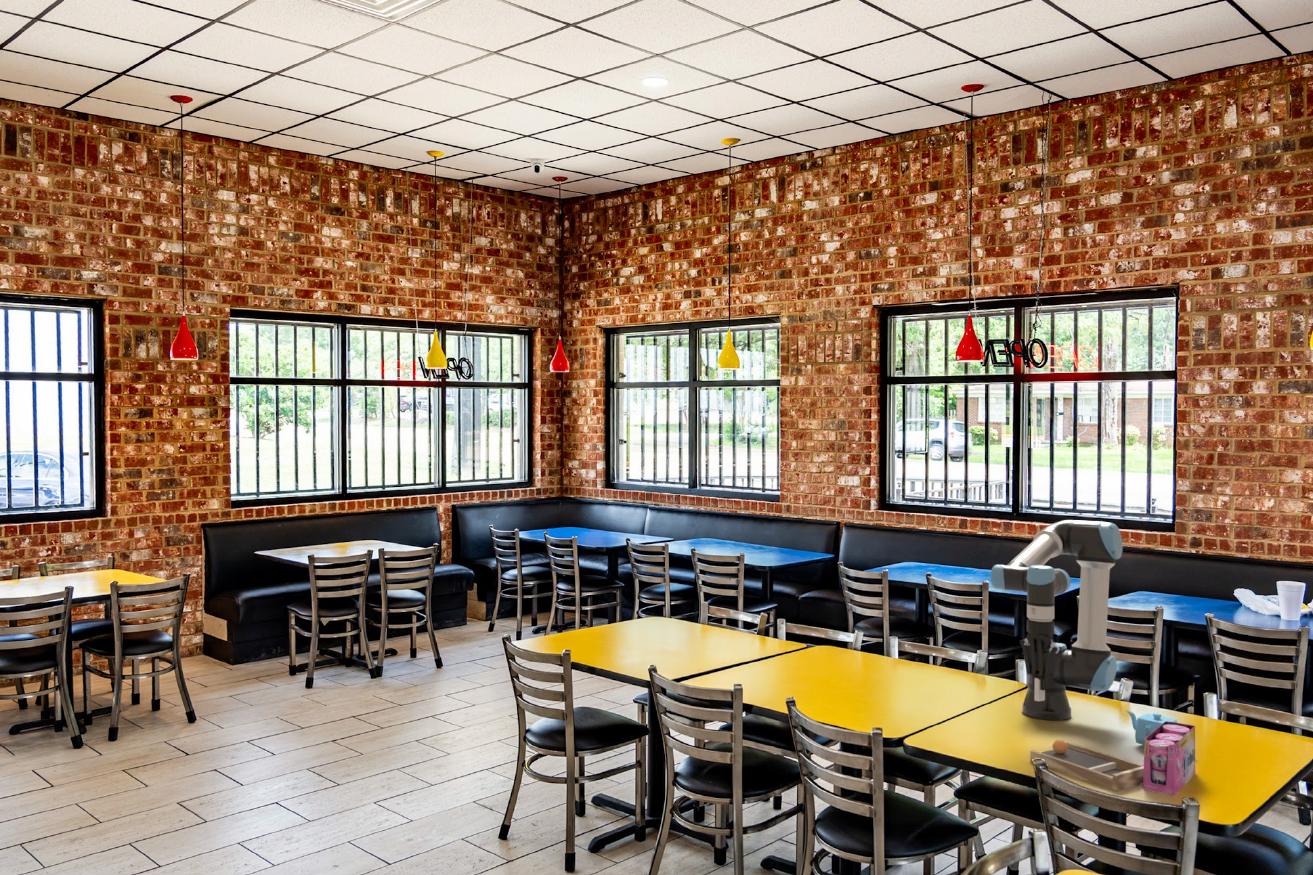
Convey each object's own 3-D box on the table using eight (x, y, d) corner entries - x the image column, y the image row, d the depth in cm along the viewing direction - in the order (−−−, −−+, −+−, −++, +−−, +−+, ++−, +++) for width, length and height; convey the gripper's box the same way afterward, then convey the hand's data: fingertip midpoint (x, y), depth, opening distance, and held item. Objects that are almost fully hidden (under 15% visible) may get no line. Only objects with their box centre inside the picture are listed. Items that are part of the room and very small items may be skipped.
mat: (1065, 752, 298) (1065, 746, 298) (1147, 779, 275) (1147, 772, 275) (1033, 760, 290) (1033, 754, 290) (1115, 788, 268) (1115, 781, 268)
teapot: (1196, 750, 300) (1196, 715, 300) (1178, 760, 291) (1178, 725, 291) (1134, 736, 314) (1134, 703, 314) (1114, 745, 304) (1114, 712, 304)
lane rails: (1068, 751, 298) (1068, 738, 298) (1154, 779, 275) (1155, 765, 275) (1030, 761, 290) (1030, 747, 290) (1116, 790, 266) (1116, 775, 266)
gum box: (1173, 799, 262) (1173, 746, 262) (1140, 791, 267) (1141, 740, 267) (1196, 774, 280) (1196, 725, 280) (1164, 768, 285) (1164, 720, 285)
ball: (1058, 750, 294) (1058, 736, 294) (1070, 754, 290) (1070, 740, 290) (1049, 752, 292) (1049, 739, 292) (1061, 756, 288) (1061, 742, 288)
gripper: (1013, 616, 300) (1012, 696, 300) (1050, 624, 289) (1049, 707, 289) (1030, 614, 304) (1029, 693, 304) (1068, 621, 293) (1067, 703, 293)
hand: (1039, 700), depth 297 cm, fingers closed
